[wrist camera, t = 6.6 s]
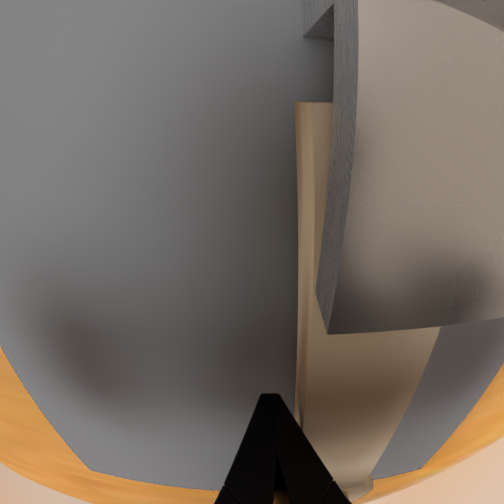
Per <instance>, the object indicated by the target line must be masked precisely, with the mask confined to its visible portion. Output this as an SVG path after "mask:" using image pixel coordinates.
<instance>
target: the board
mask: <svg viewBox="0 0 504 504" xmlns="http://www.w3.org/2000/svg"><path fill="white" fill-rule="evenodd" d="M302 36H303V5H302V0H0V346H1V348H2V350H3V352H4V353H5V355H6V357H7V359H8V360H9V362H10V364H11V366H12V367H13V369H14V371H15V372H16V374H17V376H18V377H19V379H20V380H21V382H22V383H23V385H24V387H25V388H26V390H27V391H28V393H29V394H30V396H31V397H32V399H33V400H34V401H35V403H36V404H37V406H38V407H39V409H40V410H41V411H42V413H43V414H44V415H45V417H46V418H47V420H48V421H49V422H50V423H51V425H52V426H53V427H54V429H55V430H56V431H57V432H58V434H59V435H60V436H61V437H62V439H63V440H64V441H65V442H66V444H67V445H68V446H69V447H70V448H71V449H72V451H73V452H74V453H75V454H76V455H77V456H78V457H79V459H80V460H81V461H82V462H83V463H84V464H85V465H86V466H87V467H88V468H89V469H90V470H92V471H95V472H99V473H103V474H107V475H112V476H116V477H120V478H125V479H130V480H135V481H141V482H146V483H152V484H159V485H165V486H173V487H181V488H190V489H202V490H216V491H220V490H221V488H222V486H224V482H225V479H226V477H227V475H228V472H229V470H230V468H231V465H232V463H233V461H234V458H235V456H236V453H237V451H238V449H239V446H240V444H241V441H242V439H243V436H244V434H245V432H246V429H247V427H248V424H249V422H250V419H251V417H252V414H253V411H254V409H255V406H256V404H257V401H258V399H259V396H260V394H261V393H278V394H280V395H281V397H282V399H283V400H284V402H285V404H286V405H287V407H288V408H289V410H290V412H291V413H292V415H293V416H294V411H295V390H296V365H297V331H298V192H297V158H296V133H295V112H294V102H333V79H334V41H333V40H325V39H315V38H305V37H302ZM503 362H504V317H503V318H496V319H490V320H484V321H477V322H470V323H462V324H455V325H446V326H441V328H440V331H439V333H438V336H437V339H436V342H435V344H434V347H433V350H432V352H431V355H430V357H429V360H428V362H427V365H426V367H425V370H424V372H423V374H422V377H421V379H420V381H419V383H418V386H417V388H416V390H415V392H414V394H413V397H412V399H411V401H410V403H409V405H408V407H407V409H406V411H405V413H404V415H403V417H402V419H401V421H400V423H399V425H398V427H397V429H396V431H395V432H394V434H393V436H392V438H391V440H390V441H389V443H388V445H387V447H386V449H385V450H384V452H383V454H382V455H381V457H380V459H379V460H378V462H377V464H376V465H375V467H374V469H373V470H372V472H371V477H372V480H376V479H381V478H386V477H390V476H395V475H399V474H403V473H407V472H411V471H415V470H418V469H421V468H422V467H423V466H424V465H425V464H426V463H427V461H428V460H429V459H430V458H431V457H432V456H433V455H434V454H435V453H436V452H437V451H438V450H439V449H440V447H441V446H442V445H443V444H444V443H445V442H446V441H447V439H448V438H449V437H450V436H451V435H452V434H453V432H454V431H455V430H456V429H457V427H458V426H459V425H460V424H461V423H462V421H463V420H464V419H465V417H466V416H467V415H468V414H469V412H470V411H471V410H472V408H473V407H474V406H475V404H476V403H477V402H478V400H479V399H480V397H481V396H482V395H483V393H484V392H485V390H486V389H487V387H488V386H489V384H490V383H491V381H492V380H493V378H494V377H495V375H496V374H497V372H498V371H499V369H500V367H501V366H502V364H503Z"/></svg>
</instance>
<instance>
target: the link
mask: <svg viewBox="0 0 504 504" xmlns="http://www.w3.org/2000/svg"><path fill="white" fill-rule="evenodd" d="M332 107H333V102H294V112H295V133H296V158H297V192H298V331H297V365H296V390H295V411H294V418H295V420H296V421H297V423H298V424H299V426H300V428H301V429H302V431H303V432H304V434H305V436H306V437H307V439H308V440H309V442H310V443H311V445H312V446H313V448H314V450H315V451H316V453H317V454H318V456H319V457H320V459H321V460H322V462H323V463H324V465H325V466H326V468H327V470H328V471H329V473H330V474H331V476H332V477H333V481H336V483H337V484H338V486H339V487H340V489H341V490H342V492H343V493H344V494H345V496H346V497H347V498H348V500H349V501H350V502H351V501H354V500H356V499H359V498H361V497H363V496H364V495H366V494H368V493H369V492H370V491H371V490H372V489H373V482H372V477H371V472H372V470H373V469H374V467H375V465H376V464H377V462H378V460H379V459H380V457H381V455H382V454H383V452H384V450H385V449H386V447H387V445H388V443H389V441H390V440H391V438H392V436H393V434H394V432H395V431H396V429H397V427H398V425H399V423H400V421H401V419H402V417H403V415H404V413H405V411H406V409H407V407H408V405H409V403H410V401H411V399H412V397H413V394H414V392H415V390H416V388H417V386H418V383H419V381H420V379H421V377H422V374H423V372H424V370H425V367H426V365H427V362H428V360H429V357H430V355H431V352H432V350H433V347H434V344H435V342H436V339H437V336H438V333H439V331H440V328H441V326H438V327H429V328H419V329H409V330H397V331H385V332H371V333H354V334H334V335H327V333H326V329H325V326H324V322H323V318H322V315H321V311H320V308H319V304H318V301H317V297H316V294H315V290H316V283H317V276H318V268H319V260H320V252H321V243H322V234H323V225H324V215H325V205H326V195H327V183H328V171H329V158H330V143H331V127H332Z"/></svg>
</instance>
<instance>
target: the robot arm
mask: <svg viewBox="0 0 504 504" xmlns="http://www.w3.org/2000/svg"><path fill="white" fill-rule="evenodd" d="M214 504H352V503H351V502H350V501H349V500H348V498H347V497H346V496H345V494H344V493H343V492H342V490H341V489H340V487H339V486H338V484H337V483H336V481H333V477H332V476H331V474H330V473H329V471H328V470H327V468H326V466H325V465H324V463H323V462H322V460H321V459H320V457H319V456H318V454H317V453H316V451H315V450H314V448H313V446H312V445H311V443H310V442H309V440H308V439H307V437H306V436H305V434H304V432H303V431H302V429H301V428H300V426H299V424H298V423H297V421H296V420H295V418H294V416H293V415H292V413H291V412H290V410H289V408H288V407H287V405H286V404H285V402H284V400H283V399H282V397H281V395H280V394H278V393H261V394H260V396H259V399H258V401H257V404H256V406H255V409H254V411H253V414H252V417H251V419H250V422H249V424H248V427H247V429H246V432H245V434H244V436H243V439H242V441H241V444H240V446H239V449H238V451H237V453H236V456H235V458H234V461H233V463H232V465H231V468H230V470H229V472H228V475H227V477H226V479H225V482H224V486H222V488H221V490H220V493H219V495H218V497H217V499H216V501H215V503H214Z"/></svg>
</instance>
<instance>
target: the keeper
mask: <svg viewBox="0 0 504 504" xmlns="http://www.w3.org/2000/svg"><path fill="white" fill-rule="evenodd" d="M302 5H303V36H302V37H305V38H315V39H325V40H333V41H334V79H333V107H332V127H331V143H330V158H329V171H328V183H327V195H326V205H325V215H324V225H323V234H322V243H321V252H320V260H319V268H318V276H317V283H316V290H315V294H316V297H317V301H318V304H319V308H320V311H321V315H322V318H323V322H324V326H325V329H326V333H327V335H334V334H354V333H371V332H385V331H397V330H409V329H419V328H429V327H438V326H446V325H455V324H462V323H470V322H477V321H484V320H490V319H496V318H503V317H504V0H302Z"/></svg>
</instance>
